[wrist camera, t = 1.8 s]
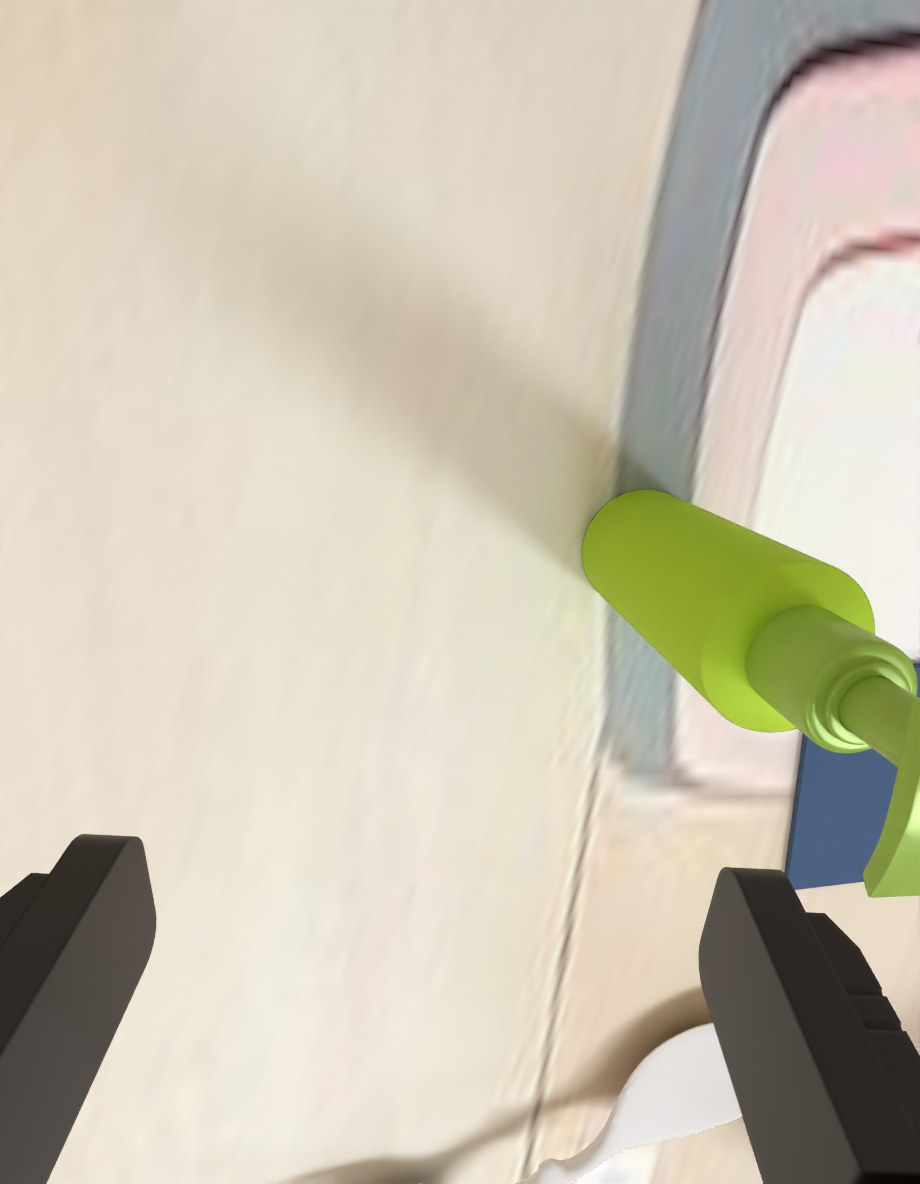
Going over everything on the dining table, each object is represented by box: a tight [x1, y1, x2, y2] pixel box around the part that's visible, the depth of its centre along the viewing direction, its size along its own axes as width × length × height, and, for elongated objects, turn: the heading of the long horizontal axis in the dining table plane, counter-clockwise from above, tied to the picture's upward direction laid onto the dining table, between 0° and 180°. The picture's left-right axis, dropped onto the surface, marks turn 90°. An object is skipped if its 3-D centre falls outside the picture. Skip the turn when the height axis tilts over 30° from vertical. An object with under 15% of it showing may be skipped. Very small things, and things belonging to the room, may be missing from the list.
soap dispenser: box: [582, 489, 920, 897], centre depth 26 cm, size 6×7×20 cm
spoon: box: [420, 1022, 742, 1184], centre depth 45 cm, size 9×32×4 cm, turn 116°
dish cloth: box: [785, 664, 920, 890], centre depth 41 cm, size 14×12×1 cm
